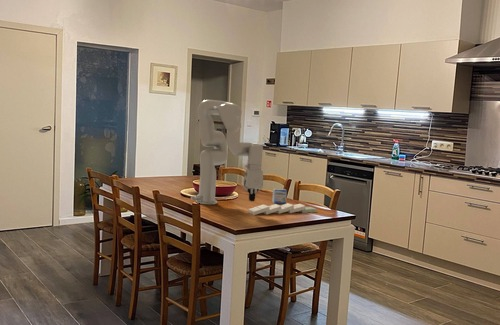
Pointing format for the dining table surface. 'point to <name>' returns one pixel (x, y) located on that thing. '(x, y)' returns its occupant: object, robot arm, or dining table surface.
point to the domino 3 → (285, 208)
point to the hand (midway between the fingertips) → (251, 200)
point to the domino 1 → (258, 209)
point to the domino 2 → (273, 209)
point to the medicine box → (279, 196)
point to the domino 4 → (297, 208)
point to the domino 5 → (308, 210)
